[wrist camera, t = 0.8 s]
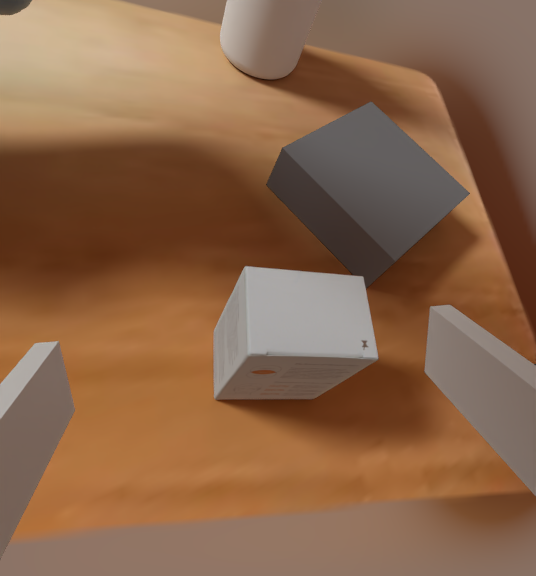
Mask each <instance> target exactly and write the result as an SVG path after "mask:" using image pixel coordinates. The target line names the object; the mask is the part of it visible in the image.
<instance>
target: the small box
mask: <svg viewBox="0 0 536 576" xmlns="http://www.w3.org/2000/svg"><path fill="white" fill-rule="evenodd" d="M378 359H379V358H378V352H377V347H376V341H375V336H374V330H373V325H372V319H371V314H370V309H369V303H368V298H367V293H366V287H365V283H364V277H363V276H354V275H343V274H331V273H319V272H308V271H296V270H285V269H273V268H263V267H251V266H245V267H244V269H243V271H242V273H241V275H240V277H239V279H238V281H237V283H236V285H235V288H234V290H233V292H232V294H231V296H230V298H229V300H228V302H227V304H226V306H225V308H224V310H223V313H222V315H221V317H220V319H219V321H218V323H217V325H216V327H215V329H214V399H216V400H219V399H315V398H316V397H318V396H320V395H321V394H323V393H325V392H326V391H328V390H330V389H331V388H333V387H335V386H336V385H338V384H340V383H341V382H343V381H344V380H346V379H348V378H349V377H351V376H352V375H354V374H356V373H357V372H359V371H360V370H362V369H364V368H365V367H367V366H369V365H370V364H372V363H374V362H375V361H377V360H378Z"/></svg>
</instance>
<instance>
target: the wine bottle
mask: <svg viewBox="0 0 536 576" xmlns="http://www.w3.org/2000/svg"><path fill="white" fill-rule="evenodd" d="M321 1H322V0H227V3H226V8H225V13H224V18H223V22H222V27H221V32H220V44H221V47H222V50H223V52H224V54H225V56H226V57H227V59H228V60H229V61H230V62H231V63H232V64H233V65H234V66H235V67H237V68H238V69H239V70H241V71H243V72H244V73H246V74H249V75H251V76H254V77H257V78H261V79H279V78H282V77H285V76H287V75H288V74H289V73H291V72H292V71H293V69H294V68H295V67H296V65H297V63H298V60H299V58H300V55H301V52H302V50H303V47H304V45H305V42H306V39H307V37H308V34H309V32H310V29H311V27H312V24H313V22H314V19H315V16H316V14H317V11H318V9H319V6H320V4H321Z"/></svg>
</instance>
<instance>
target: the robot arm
mask: <svg viewBox="0 0 536 576" xmlns="http://www.w3.org/2000/svg"><path fill="white" fill-rule="evenodd" d="M31 1H32V0H0V15H13V14H15V13H18V12H20V11H21V10H22V9H25V8H26V7H27V6H28V5H29V4H30V3H31ZM424 372H425V373H426V374H427V375H428V377H429V378H430V379H431V380H432V381H433V382H434V383H435V384H436V386H437V387H438V388H439V389H440V390H441V391H442V392H443V393H444V394H445V396H446V397H447V398H448V399H449V400H450V401H451V402H452V403H453V404H454V406H455V407H456V408H457V409H458V410H459V411H460V412H461V413H462V415H463V416H464V417H465V418H466V419H467V420H468V421H469V422H470V423H471V425H472V426H473V427H474V428H475V429H476V430H477V431H478V432H479V433H480V435H481V436H482V437H483V438H484V439H485V440H486V441H487V442H488V443H489V445H490V446H491V447H492V448H493V449H494V450H495V451H496V452H497V454H498V455H499V456H500V457H501V458H502V459H503V460H504V461H505V462H506V464H507V465H508V466H509V467H510V468H511V469H512V470H513V471H514V472H515V474H516V475H517V476H518V477H519V478H520V479H521V480H522V481H523V483H524V484H525V485H526V486H527V487H528V488H529V489H530V490H531V491H532V493H533V494H534V495H535V496H536V364H533V363H531V362H530V361H528V360H527V359H526V358H524V357H523V356H521V355H520V354H519V353H517V352H516V351H514V350H513V349H512V348H510V347H509V346H507V345H506V344H505V343H503V342H502V341H500V340H499V339H498V338H496V337H495V336H493V335H492V334H491V333H489V332H488V331H486V330H485V329H483V328H482V327H481V326H479V325H478V324H476V323H475V322H474V321H472V320H471V319H469V318H468V317H467V316H465V315H464V314H462V313H461V312H460V311H458V310H457V309H455V308H454V307H453V306H451V305H441V306H430V314H429V325H428V337H427V348H426V359H425V371H424ZM74 411H75V408H74V403H73V399H72V395H71V391H70V386H69V382H68V378H67V374H66V370H65V365H64V361H63V357H62V353H61V348H60V344H59V341H55V342H45V343H35V344H34V345H33V346H32V348H31V349H30V350H29V351H28V352H27V353H26V355H25V356H24V357H23V358H22V359H21V360H20V362H19V363H18V364H17V365H16V366H15V367H14V369H13V370H12V371H11V372H10V373H9V375H8V376H7V377H6V378H5V379H4V380H3V382H2V383H1V384H0V559H1V557H2V555H3V553H4V551H5V549H6V547H7V545H8V543H9V541H10V539H11V537H12V535H13V533H14V531H15V529H16V527H17V525H18V523H19V521H20V519H21V517H22V515H23V513H24V511H25V509H26V507H27V505H28V503H29V501H30V499H31V497H32V495H33V493H34V491H35V489H36V487H37V485H38V483H39V481H40V479H41V477H42V475H43V473H44V471H45V469H46V467H47V465H48V463H49V461H50V459H51V457H52V455H53V453H54V451H55V449H56V447H57V445H58V443H59V441H60V439H61V437H62V435H63V433H64V431H65V429H66V427H67V425H68V423H69V421H70V419H71V417H72V415H73V413H74Z"/></svg>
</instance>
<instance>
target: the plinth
mask: <svg viewBox="0 0 536 576" xmlns="http://www.w3.org/2000/svg"><path fill="white" fill-rule="evenodd" d="M266 185H267V186H268V187H269V188H270V189H271V190H272V191H273V192H274V193H275V194H276V195H277V197H278V198H279V199H280V200H281V201H282V202H283V203H284V204H285V205H286V206H287V207H288V208H289V209H290V210H291V211H292V212H293V213H294V214H295V215H296V216H297V217H298V218H299V219H300V220H301V221H302V222H303V223H304V224H305V225H306V227H307V228H308V229H309V230H310V231H311V232H312V233H313V234H314V235H315V236H316V237H317V238H318V239H319V240H320V241H321V242H322V243H323V244H324V245H325V246H326V247H327V248H328V249H329V250H330V251H331V252H332V253H333V254H334V255H335V256H336V258H337V259H338V260H339V261H340V262H341V263H342V264H343V265H344V266H345V267H346V268H347V269H348V270H349V271H350V272H351V273H352V274H353V275H354V276H363V277H364V283H365V287H366V288H367V287H368V286H369V285H371V284H372V283H373V282H374V281H375V280H376V279H377V278H378V277H379V276H380V275H382V274H383V273H384V272H385V271H386V270H387V269H388V268H389V267H390V266H391V265H393V264H394V263H395V262H396V261H397V260H398V259H399V258H400V257H401V256H402V255H404V254H405V253H406V252H407V251H408V250H409V249H410V248H411V247H412V246H413V245H415V244H416V243H417V242H418V241H419V240H420V239H421V238H422V237H423V236H424V235H425V234H427V233H428V232H429V231H430V230H431V229H432V228H433V227H434V226H435V225H436V224H438V223H439V222H440V221H441V220H442V219H443V218H444V217H445V216H446V215H447V214H448V213H449V212H451V211H452V210H453V209H454V208H455V207H456V206H457V205H458V204H459V203H460V202H461V201H462V200H463V199H465V198H466V197H467V196H468V195H469V194H470V193H469V192H468V191H467V190H466V189H465V188H464V187H463V186H462V185H460V184H459V183H458V182H457V181H456V180H455V179H454V178H453V177H452V176H451V175H450V174H449V173H448V172H447V171H445V170H444V169H443V168H442V167H441V166H440V165H439V164H438V163H437V162H436V161H435V160H434V159H433V158H432V157H430V156H429V155H428V154H427V153H426V152H425V151H424V150H423V149H422V148H421V147H420V146H419V145H418V144H416V143H415V142H414V141H413V140H412V139H411V138H410V137H409V136H408V135H407V134H406V133H405V132H404V131H403V130H401V129H400V128H399V127H398V126H397V125H396V124H395V123H394V122H393V121H392V120H391V119H390V118H389V117H388V116H386V115H385V114H384V113H383V112H382V111H381V110H380V109H379V108H378V107H377V106H376V105H375V104H374V103H373V102H369V103H367V104H365V105H363V106H361V107H360V108H358V109H356V110H354V111H352V112H350V113H348V114H346V115H344V116H342V117H340V118H339V119H337V120H335V121H333V122H331V123H329V124H327V125H325V126H323V127H321V128H319V129H318V130H316V131H314V132H312V133H310V134H308V135H306V136H304V137H302V138H300V139H298V140H296V141H295V142H293V143H291V144H289V145H287V146H285V147H283V148H282V150H281V152H280V154H279V157H278V159H277V161H276V164H275V166H274V168H273V170H272V173H271V175H270V177H269V180H268V182H267V184H266Z"/></svg>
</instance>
